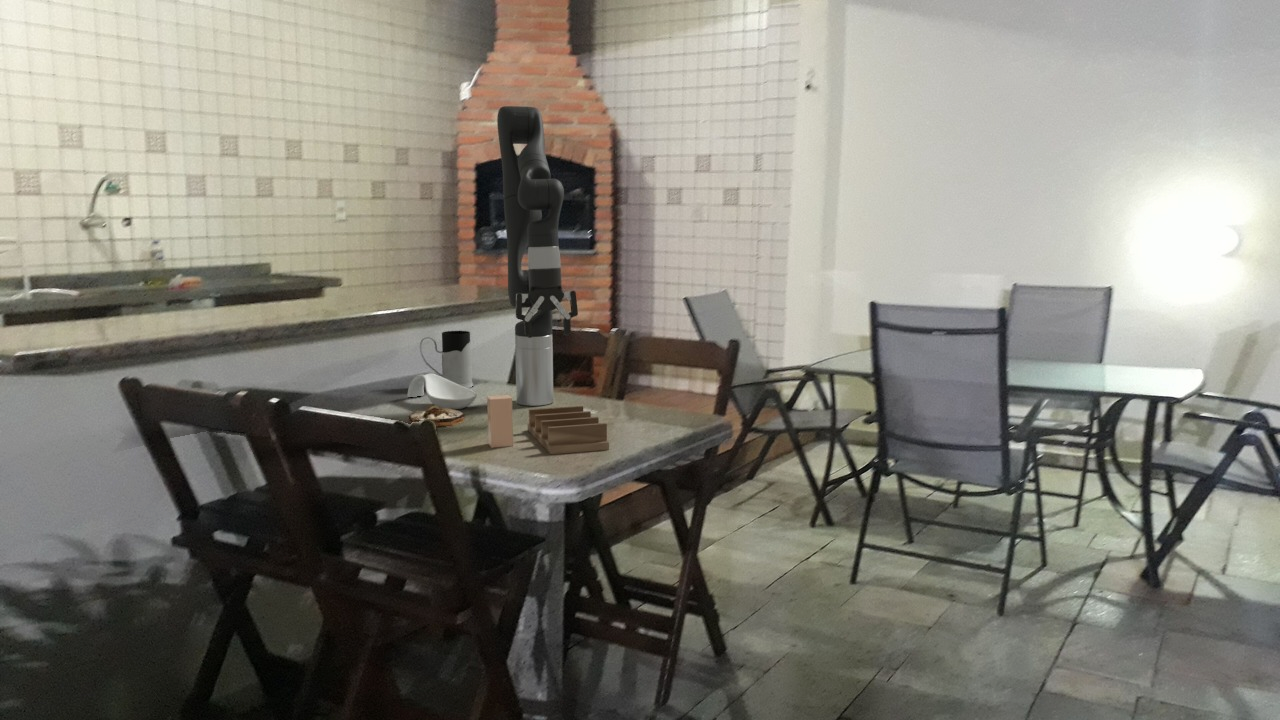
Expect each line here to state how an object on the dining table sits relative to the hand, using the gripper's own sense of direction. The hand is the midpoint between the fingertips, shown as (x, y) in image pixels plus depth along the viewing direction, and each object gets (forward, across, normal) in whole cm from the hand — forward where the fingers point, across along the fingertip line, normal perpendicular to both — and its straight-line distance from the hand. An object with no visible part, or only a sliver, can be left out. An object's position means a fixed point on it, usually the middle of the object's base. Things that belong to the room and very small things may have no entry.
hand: (547, 336), depth 219 cm
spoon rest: (+18, +26, -20) cm, 37 cm away
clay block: (+19, +14, +26) cm, 35 cm away
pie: (+19, +27, +1) cm, 33 cm away
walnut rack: (+20, 0, +24) cm, 31 cm away
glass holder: (+17, +23, -43) cm, 51 cm away
